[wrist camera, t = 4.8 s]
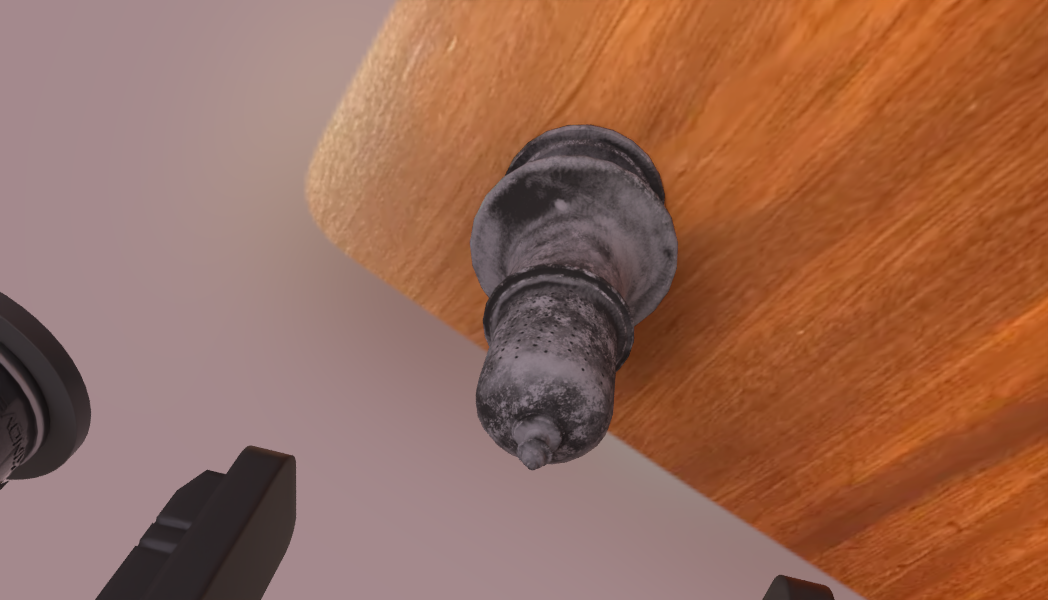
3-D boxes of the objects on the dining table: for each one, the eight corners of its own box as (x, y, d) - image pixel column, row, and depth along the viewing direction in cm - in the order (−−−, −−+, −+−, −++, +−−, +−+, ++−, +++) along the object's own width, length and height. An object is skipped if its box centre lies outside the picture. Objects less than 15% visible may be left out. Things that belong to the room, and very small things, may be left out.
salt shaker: (630, 306, 25) (618, 608, 15) (470, 247, 25) (350, 515, 15) (706, 155, 22) (755, 410, 12) (525, 86, 22) (419, 288, 12)
